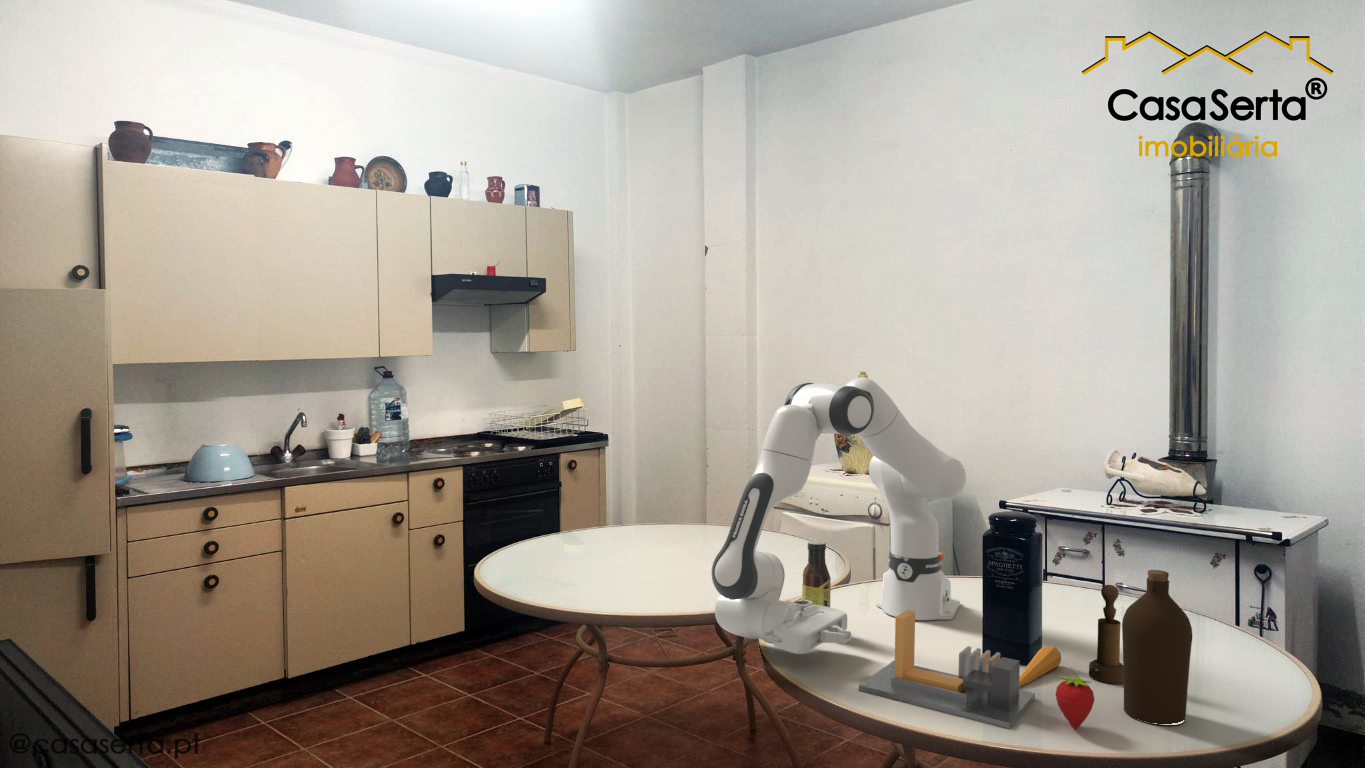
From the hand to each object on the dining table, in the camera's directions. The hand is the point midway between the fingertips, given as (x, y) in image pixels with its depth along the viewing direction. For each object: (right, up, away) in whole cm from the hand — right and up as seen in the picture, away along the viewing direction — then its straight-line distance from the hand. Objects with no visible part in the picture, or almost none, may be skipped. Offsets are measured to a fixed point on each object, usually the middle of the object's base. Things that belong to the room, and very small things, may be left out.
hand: (848, 637), depth 170 cm
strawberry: (+33, -8, -25) cm, 42 cm away
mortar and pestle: (+49, -7, -3) cm, 50 cm away
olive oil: (+49, -8, -20) cm, 54 cm away
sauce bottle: (-3, -6, +24) cm, 25 cm away
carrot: (+35, -7, -2) cm, 36 cm away
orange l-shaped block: (+13, -6, -10) cm, 17 cm away
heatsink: (+16, -7, -11) cm, 21 cm away
